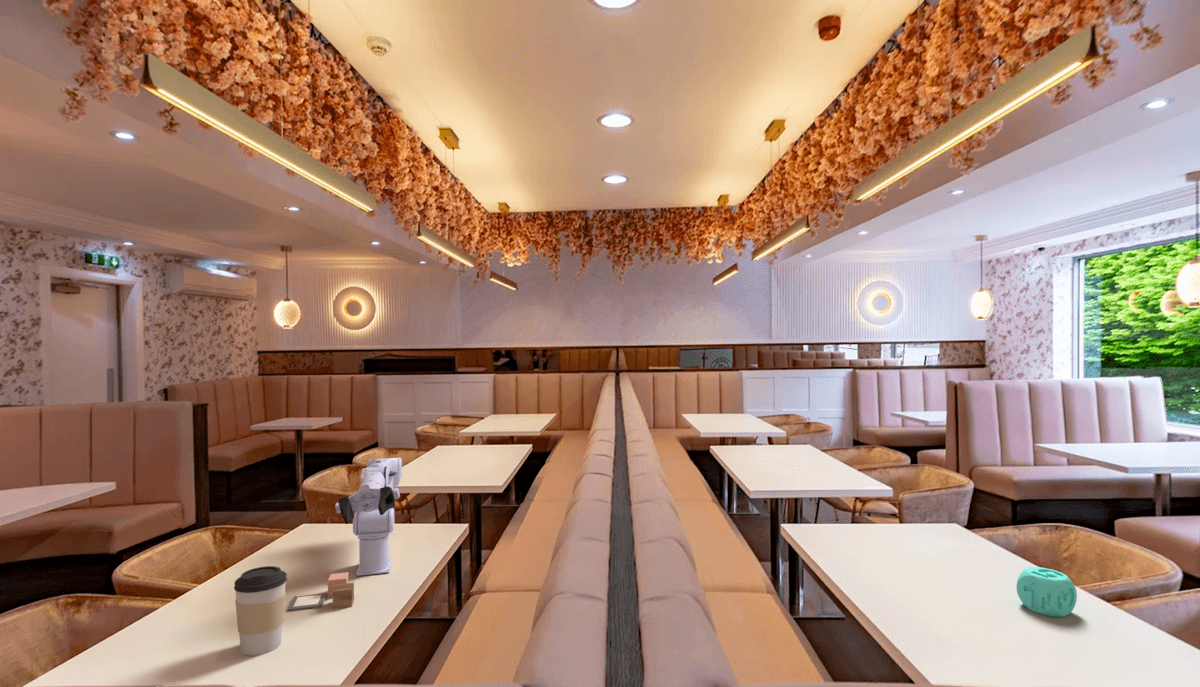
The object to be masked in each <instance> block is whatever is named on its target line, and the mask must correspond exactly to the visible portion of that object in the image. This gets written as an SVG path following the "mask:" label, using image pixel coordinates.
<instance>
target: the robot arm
mask: <svg viewBox="0 0 1200 687" xmlns="http://www.w3.org/2000/svg"><path fill="white" fill-rule="evenodd" d="M402 475H403V459H402V458H401V457H390V458H389V457H386V458H369V459H368V460H367V463H366V467H365V468H362V471H361V475H360V486H359V488H358V491H356V492H354V493H353V494H351V495H349V496H344V497H340V498H339V500H338V501H337V502H336V503H335V506H334V507H335V513H336V514H340V515H341V517H342V519H343V521H344V524H346V525H348V524H350V522H351V520H352V531H353V534H354V535H355V536H357V539H358V542H359V544H358V545H359V551H358V552H359V554H358V556H359V561H358V562H359V564H358V568H357V571H356V576H357V577H359V576H367V575H379V574H380V575H381V574H387V573H390V570H391V564H392V558H389V557H390V555H389V553H390V552H389V550H390V549H389V546H390V544H389V540H390V534H392V533H393V531H395V530H394V529H395V509H394V508H395V507H396V502H395V501H396V500H397V499H400V496H401V494H400V490H399V488H398V487H397V486H398V485H400V483H401V480H402Z"/></svg>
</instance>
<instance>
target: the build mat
mask: <svg viewBox="0 0 1200 687" xmlns="http://www.w3.org/2000/svg"><path fill="white" fill-rule="evenodd" d="M327 596H328V592H324V593H323V592H322V593H314V594H304V595H298V596H296V595H295V596H293V597H292V600H291V601H290V602H289V605H288V608H287V609H286V610H287V612H293V611H301V610H308V609H310V610H311V609H319V608H322V607H323V604H324V602H325V600H326V598H327Z"/></svg>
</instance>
